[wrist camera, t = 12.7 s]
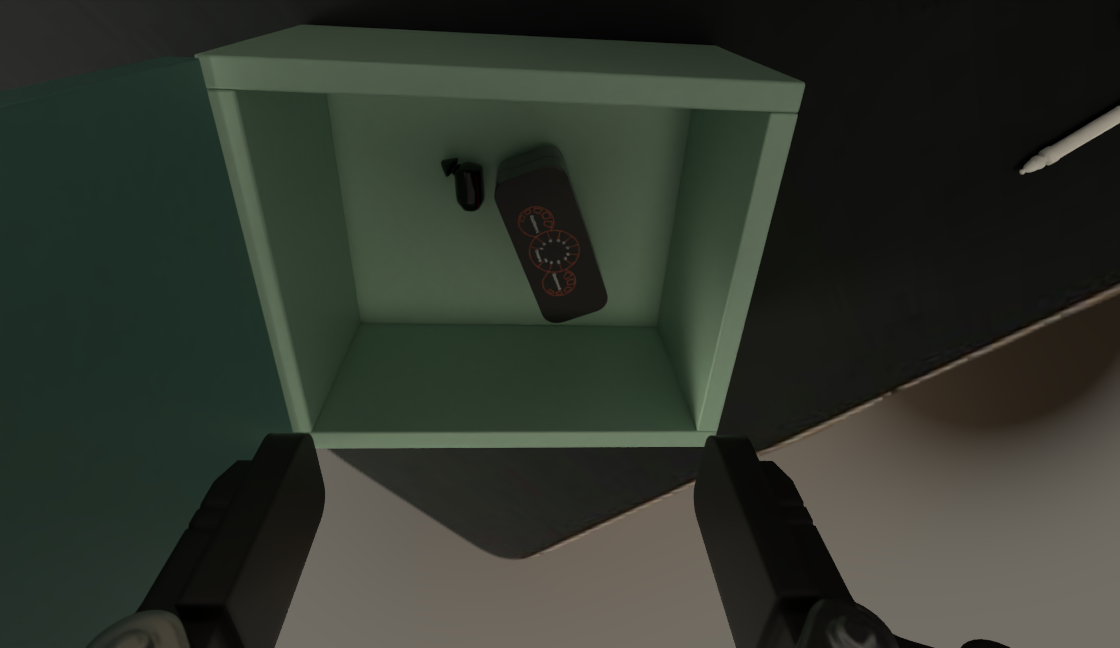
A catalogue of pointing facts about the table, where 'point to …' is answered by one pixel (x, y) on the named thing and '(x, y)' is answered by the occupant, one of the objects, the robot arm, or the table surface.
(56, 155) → the lid
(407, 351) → the storage box
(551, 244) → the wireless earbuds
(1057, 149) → the picture light
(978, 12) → the table surface
